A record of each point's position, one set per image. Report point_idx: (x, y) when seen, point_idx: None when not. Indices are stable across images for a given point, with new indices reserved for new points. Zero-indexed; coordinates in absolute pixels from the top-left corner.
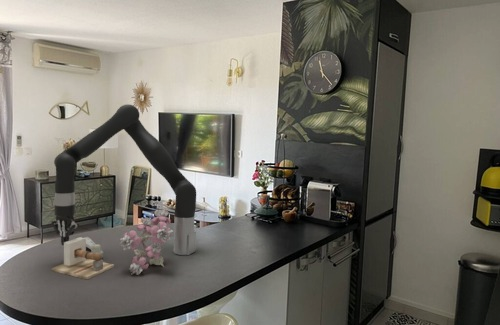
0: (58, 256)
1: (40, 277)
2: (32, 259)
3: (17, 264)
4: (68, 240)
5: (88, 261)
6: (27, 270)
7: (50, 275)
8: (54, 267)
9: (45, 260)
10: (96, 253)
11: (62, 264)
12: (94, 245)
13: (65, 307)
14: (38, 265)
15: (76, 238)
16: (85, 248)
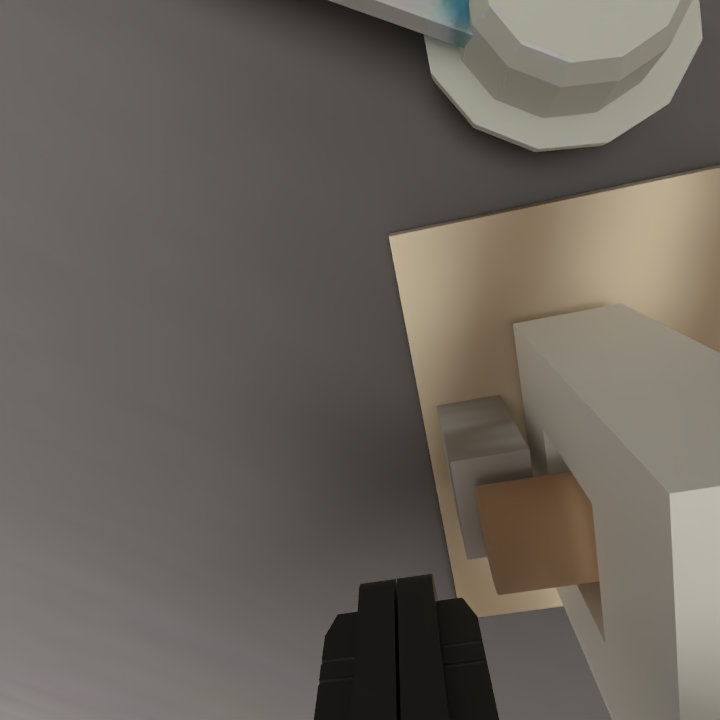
0: (86, 348)
1: (522, 716)
2: (7, 557)
3: (63, 684)
4: (486, 670)
5: (630, 265)
6: (277, 702)
7: (554, 656)
8: (463, 596)
9: (124, 498)
10: (658, 93)
11: (451, 510)
12: (566, 8)
13: None
14: (222, 600)
15: (688, 621)
16: (718, 358)
